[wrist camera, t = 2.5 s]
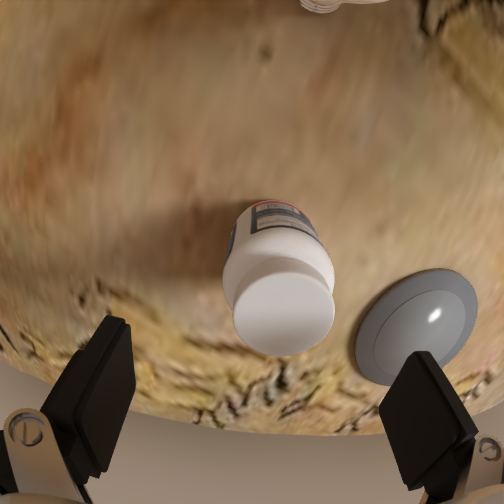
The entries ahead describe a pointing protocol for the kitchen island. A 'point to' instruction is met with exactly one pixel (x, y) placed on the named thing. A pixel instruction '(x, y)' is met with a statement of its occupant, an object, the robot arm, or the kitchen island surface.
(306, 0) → the light bulb
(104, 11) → the kitchen island surface
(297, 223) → the pill bottle
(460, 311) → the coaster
